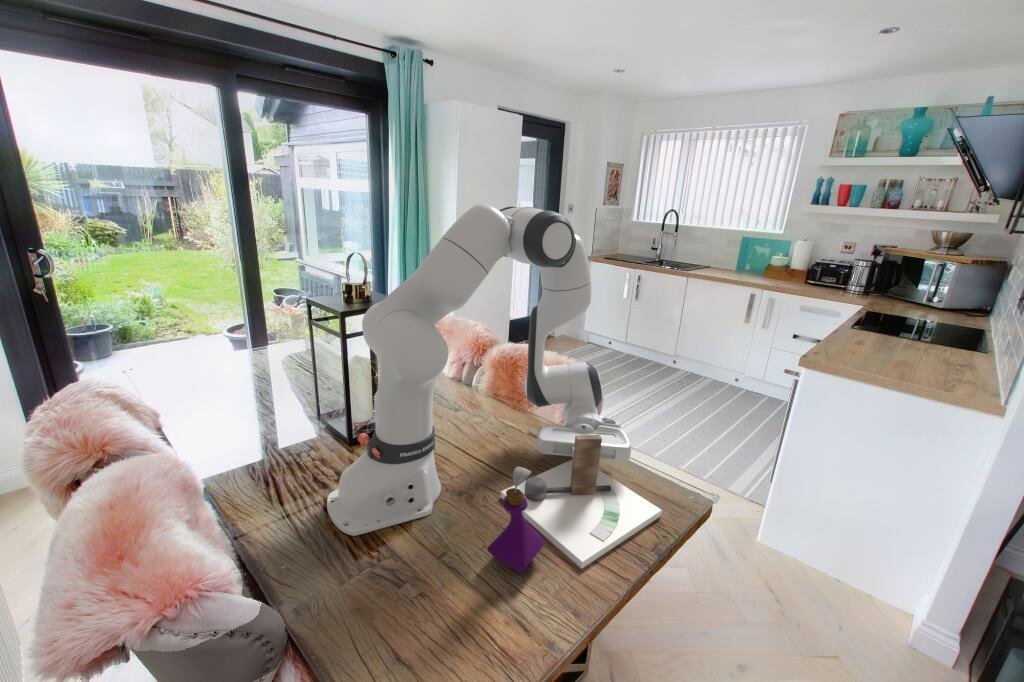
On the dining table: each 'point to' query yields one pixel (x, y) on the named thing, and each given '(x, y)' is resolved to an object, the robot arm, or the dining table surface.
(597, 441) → the lever
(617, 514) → the dial board
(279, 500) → the dining table surface
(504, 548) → the perfume bottle
